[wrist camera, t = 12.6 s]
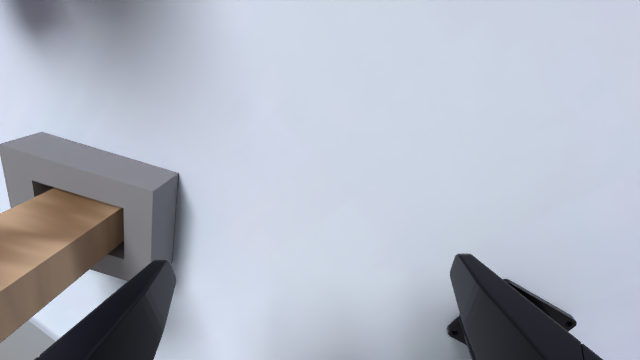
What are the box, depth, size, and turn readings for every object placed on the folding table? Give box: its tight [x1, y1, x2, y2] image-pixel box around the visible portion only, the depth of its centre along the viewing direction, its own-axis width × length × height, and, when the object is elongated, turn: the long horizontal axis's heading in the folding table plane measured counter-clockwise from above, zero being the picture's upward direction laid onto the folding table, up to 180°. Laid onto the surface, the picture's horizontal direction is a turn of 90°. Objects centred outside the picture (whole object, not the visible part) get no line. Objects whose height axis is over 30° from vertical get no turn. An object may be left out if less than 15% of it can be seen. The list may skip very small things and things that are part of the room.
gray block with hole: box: [0, 132, 178, 281], centre depth 23 cm, size 10×8×3 cm
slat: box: [0, 188, 124, 343], centre depth 19 cm, size 5×3×13 cm, turn 76°
